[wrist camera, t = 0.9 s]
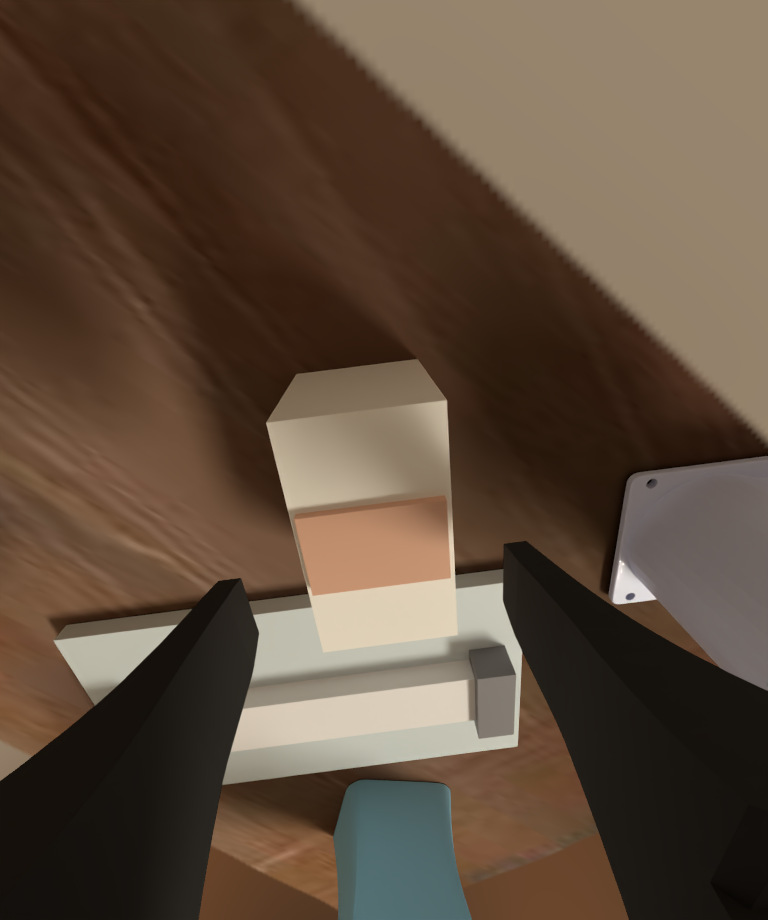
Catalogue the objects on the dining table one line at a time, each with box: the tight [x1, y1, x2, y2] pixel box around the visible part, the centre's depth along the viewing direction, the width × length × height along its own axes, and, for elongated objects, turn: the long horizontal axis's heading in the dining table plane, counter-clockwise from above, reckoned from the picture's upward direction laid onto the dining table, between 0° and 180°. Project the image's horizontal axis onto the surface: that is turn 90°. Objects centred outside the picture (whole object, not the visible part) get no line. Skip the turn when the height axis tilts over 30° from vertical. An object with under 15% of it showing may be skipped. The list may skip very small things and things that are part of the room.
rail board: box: [54, 569, 522, 785], centre depth 23 cm, size 24×14×3 cm, turn 97°
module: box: [266, 359, 458, 653], centre depth 16 cm, size 5×9×6 cm, turn 6°
